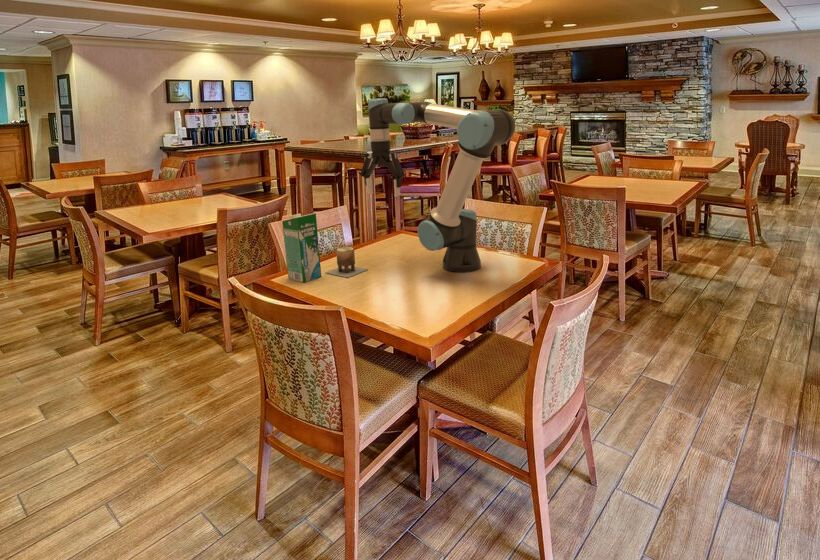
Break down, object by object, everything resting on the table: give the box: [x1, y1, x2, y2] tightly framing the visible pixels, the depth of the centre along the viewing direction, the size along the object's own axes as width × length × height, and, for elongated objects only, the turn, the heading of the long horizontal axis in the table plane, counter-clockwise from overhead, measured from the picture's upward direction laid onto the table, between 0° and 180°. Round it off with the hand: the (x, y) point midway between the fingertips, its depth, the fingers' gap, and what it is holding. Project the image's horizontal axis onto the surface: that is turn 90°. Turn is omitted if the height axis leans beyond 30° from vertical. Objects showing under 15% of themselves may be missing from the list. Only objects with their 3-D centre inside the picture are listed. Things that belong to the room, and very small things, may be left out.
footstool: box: [335, 246, 356, 273], centre depth 221 cm, size 7×7×9 cm
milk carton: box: [281, 213, 322, 283], centre depth 213 cm, size 9×9×25 cm
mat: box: [324, 265, 369, 279], centre depth 222 cm, size 12×12×1 cm
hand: (383, 195), depth 224 cm, fingers open, 13 cm apart
